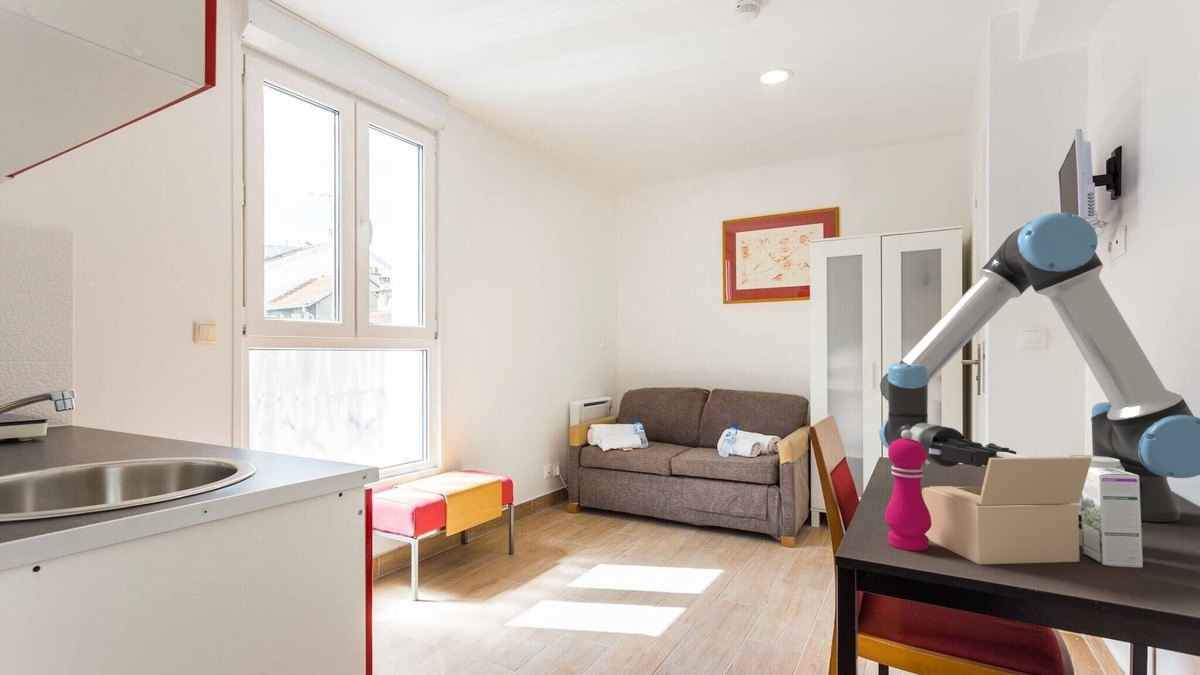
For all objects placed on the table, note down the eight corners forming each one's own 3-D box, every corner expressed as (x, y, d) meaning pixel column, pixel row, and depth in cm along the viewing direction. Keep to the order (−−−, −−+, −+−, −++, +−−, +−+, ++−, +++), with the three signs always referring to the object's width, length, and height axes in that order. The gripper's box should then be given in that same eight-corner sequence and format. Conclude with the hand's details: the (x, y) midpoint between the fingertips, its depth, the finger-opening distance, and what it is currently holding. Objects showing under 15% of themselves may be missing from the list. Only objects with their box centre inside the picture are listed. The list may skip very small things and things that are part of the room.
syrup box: (1144, 568, 93) (1142, 474, 94) (1101, 565, 94) (1099, 472, 95) (1121, 556, 99) (1118, 467, 99) (1080, 553, 100) (1078, 466, 100)
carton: (1009, 534, 111) (1008, 482, 111) (1079, 561, 96) (1078, 502, 96) (921, 536, 110) (920, 484, 110) (978, 564, 95) (977, 504, 95)
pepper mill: (878, 538, 108) (876, 427, 109) (918, 539, 108) (917, 427, 108) (896, 551, 101) (895, 432, 101) (940, 552, 101) (938, 432, 101)
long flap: (1076, 501, 97) (1089, 456, 94) (1079, 503, 96) (1091, 458, 94) (978, 503, 95) (989, 457, 93) (980, 505, 95) (991, 459, 92)
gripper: (968, 463, 119) (1070, 490, 95) (905, 464, 118) (992, 491, 94) (968, 425, 119) (1069, 443, 95) (904, 425, 118) (991, 443, 94)
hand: (1031, 467), depth 95 cm, fingers closed
